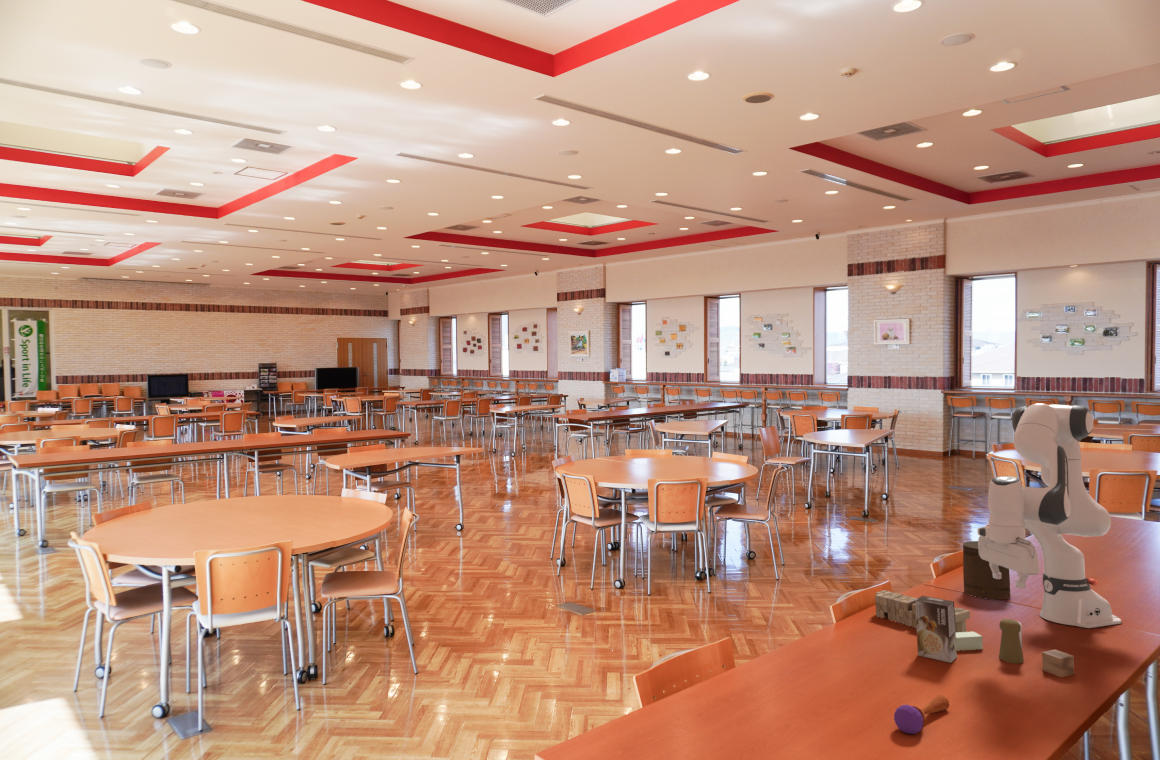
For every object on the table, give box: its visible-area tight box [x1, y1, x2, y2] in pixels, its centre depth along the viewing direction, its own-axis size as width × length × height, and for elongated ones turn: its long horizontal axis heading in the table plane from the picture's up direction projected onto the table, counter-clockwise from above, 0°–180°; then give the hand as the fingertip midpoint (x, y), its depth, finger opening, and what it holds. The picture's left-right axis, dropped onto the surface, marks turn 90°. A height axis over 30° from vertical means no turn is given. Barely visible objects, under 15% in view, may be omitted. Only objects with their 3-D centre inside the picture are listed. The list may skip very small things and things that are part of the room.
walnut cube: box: [1041, 649, 1075, 678], centre depth 186 cm, size 5×5×5 cm
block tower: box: [874, 589, 971, 632], centre depth 225 cm, size 8×8×29 cm
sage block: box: [956, 630, 984, 652], centre depth 205 cm, size 8×4×4 cm, turn 95°
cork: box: [998, 618, 1025, 664], centre depth 195 cm, size 6×6×11 cm
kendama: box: [893, 694, 950, 735], centre depth 161 cm, size 6×6×20 cm
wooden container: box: [962, 540, 1011, 601], centre depth 255 cm, size 15×15×22 cm
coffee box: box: [915, 595, 958, 664], centre depth 199 cm, size 9×6×16 cm
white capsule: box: [1016, 620, 1023, 648], centre depth 205 cm, size 5×5×7 cm
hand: (1008, 583), depth 195 cm, fingers open, 8 cm apart
